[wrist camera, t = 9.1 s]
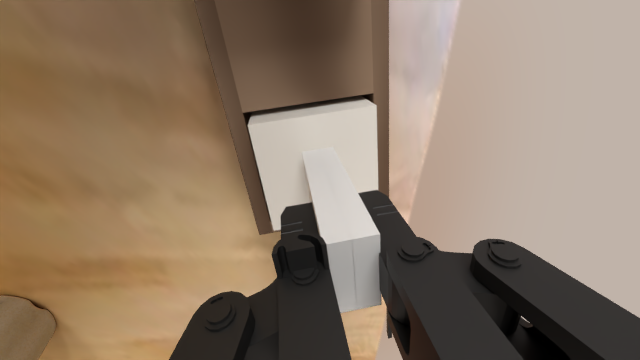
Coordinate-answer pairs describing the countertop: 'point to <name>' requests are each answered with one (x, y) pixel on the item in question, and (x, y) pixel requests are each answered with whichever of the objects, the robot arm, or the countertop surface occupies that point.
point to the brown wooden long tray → (296, 66)
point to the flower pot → (23, 329)
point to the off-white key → (313, 146)
